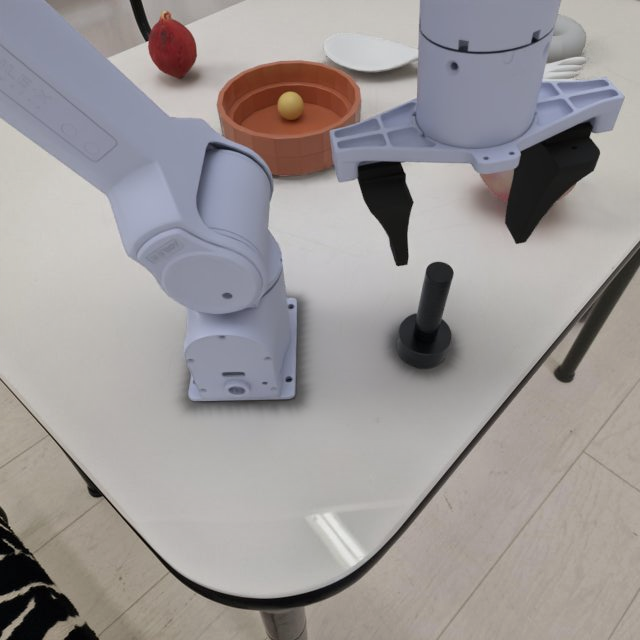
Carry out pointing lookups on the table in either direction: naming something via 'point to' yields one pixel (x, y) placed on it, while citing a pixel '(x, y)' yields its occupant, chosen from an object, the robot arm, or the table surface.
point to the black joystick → (428, 321)
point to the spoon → (410, 56)
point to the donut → (566, 39)
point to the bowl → (279, 133)
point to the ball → (290, 105)
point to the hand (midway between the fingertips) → (456, 243)
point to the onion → (172, 46)
